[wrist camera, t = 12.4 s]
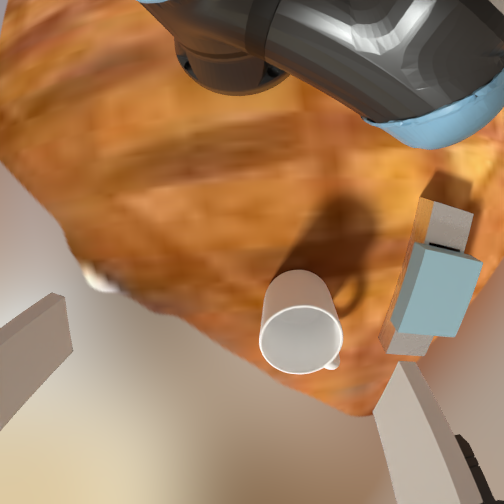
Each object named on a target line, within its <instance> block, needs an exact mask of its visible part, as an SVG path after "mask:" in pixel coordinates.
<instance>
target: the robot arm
mask: <svg viewBox="0 0 504 504" xmlns="http://www.w3.org/2000/svg"><path fill="white" fill-rule="evenodd" d="M137 1H138V2H139V3H140V4H142V5H143V6H144V7H145V8H146V9H147V10H148V11H149V12H150V13H151V14H152V15H153V16H154V17H155V18H156V19H157V20H158V21H159V22H160V23H161V24H162V25H163V26H164V27H165V28H166V29H167V30H168V31H169V32H170V33H171V34H172V35H173V36H174V41H175V52H176V55H177V58H178V61H179V63H180V65H181V66H182V68H183V69H184V71H185V72H186V73H187V74H188V75H189V76H190V77H191V78H192V79H193V80H194V81H195V82H197V83H198V84H199V85H201V86H202V87H204V88H206V89H208V90H210V91H213V92H216V93H219V94H224V95H230V96H245V95H252V94H256V93H260V92H263V91H266V90H268V89H270V88H273V87H274V86H276V85H278V84H279V83H281V82H282V81H284V80H285V79H286V78H287V77H288V76H289V75H290V74H291V75H293V76H295V77H297V78H299V79H300V80H302V81H304V82H306V83H308V84H310V85H311V86H313V87H315V88H317V89H319V90H320V91H322V92H324V93H325V94H327V95H329V96H331V97H332V98H334V99H336V100H337V101H339V102H340V103H342V104H344V105H345V106H347V107H348V108H350V109H352V110H353V111H355V112H356V113H358V114H359V115H360V116H361V118H362V119H363V120H364V121H365V122H367V123H368V124H370V125H372V126H376V127H380V128H381V129H383V130H384V131H386V132H387V133H389V134H390V135H392V136H393V137H395V138H396V139H398V140H399V141H400V142H402V143H404V144H406V145H408V146H410V147H413V148H421V149H427V150H432V149H439V148H444V147H447V146H451V145H453V144H456V143H458V142H460V141H462V140H464V139H466V138H468V137H470V136H471V135H473V134H475V133H476V132H478V131H479V130H480V129H482V128H483V127H484V126H486V125H487V124H488V123H489V122H490V121H491V120H492V119H493V118H494V117H495V116H496V115H497V114H498V113H499V112H500V111H501V109H502V108H503V107H504V0H137ZM72 352H73V348H72V343H71V337H70V331H69V324H68V319H67V311H66V303H65V297H64V296H61V295H57V294H55V293H50V294H49V295H47V296H46V297H44V298H43V299H41V300H40V301H38V302H37V303H35V304H34V305H32V306H31V307H30V308H28V309H27V310H25V311H24V312H22V313H21V314H19V315H18V316H17V317H15V318H14V319H12V320H11V321H10V322H9V323H7V324H6V325H4V326H3V327H2V328H0V431H1V430H2V429H3V427H4V426H5V425H6V424H7V423H8V422H9V420H10V419H11V418H12V417H13V416H14V415H15V414H16V412H17V411H18V410H19V409H20V408H21V407H22V406H23V404H24V403H25V402H26V401H27V400H28V399H29V398H30V397H31V396H32V394H34V392H35V391H36V390H37V389H38V388H39V387H40V386H41V385H42V384H43V383H44V382H45V380H46V379H47V378H48V377H49V376H50V375H51V374H52V373H53V372H54V371H55V370H56V369H57V368H58V367H59V365H61V364H62V362H64V361H65V359H66V358H67V357H68V356H69V355H70V354H71V353H72ZM373 414H374V418H375V421H376V424H377V428H378V431H379V435H380V439H381V442H382V446H383V449H384V453H385V457H386V461H387V465H388V469H389V472H390V477H391V481H392V484H393V489H394V493H395V497H396V502H397V504H504V501H501V500H497V501H495V499H494V497H493V496H492V493H491V491H490V488H489V486H488V484H487V481H486V479H485V477H484V475H483V472H482V470H481V468H480V466H478V461H477V459H476V458H474V453H473V451H472V449H471V447H470V445H469V443H468V442H467V441H466V440H465V439H464V438H463V437H462V436H461V435H460V434H459V435H454V434H453V432H452V430H451V428H450V426H449V424H448V422H447V420H446V418H445V416H444V414H443V412H442V410H441V408H440V406H439V405H438V402H437V401H436V399H435V397H434V395H433V393H432V391H431V390H430V388H429V386H428V384H427V382H426V380H425V379H424V377H423V375H422V373H421V371H420V370H419V368H418V366H417V364H416V363H415V362H406V361H399V362H398V364H397V366H396V368H395V370H394V372H393V374H392V376H391V378H390V380H389V382H388V384H387V386H386V388H385V390H384V392H383V394H382V396H381V398H380V400H379V401H378V403H377V405H376V407H375V409H374V410H373Z"/></svg>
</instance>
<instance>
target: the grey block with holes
mask: <svg viewBox="0 0 504 504" xmlns="http://www.w3.org/2000/svg"><path fill="white" fill-rule="evenodd" d="M473 215H474V214H473V213H470V212H467V211H464V210H461V209H458V208H455V207H451V206H448V205H445V204H442V203H439V202H435V201H432V200H429V199H425V198H422V197H420V198H419V202H418V207H417V212H416V216H415V220H414V225H413V229H412V233H411V237H410V241H409V245H408V248H407V252H406V256H405V259H404V263H403V266H402V269H401V273H400V276H399V279H398V283H397V286H396V289H395V292H394V295H393V298H392V301H391V304H390V307H389V310H388V312H387V315H386V318H385V321H384V324H383V326H382V329H381V332H380V334H379V337H378V338H379V340H380V342H381V345H382V347H383V349H384V351H385V353H386V354H399V355H414V356H425V354H426V352H427V350H428V348H429V345H430V343H431V341H432V339H433V336H432V335H420V334H409V333H399V332H397V330H396V329H395V327H394V326H393V324H392V322H391V321H390V319H391V316H392V313H393V310H394V307H395V305H396V302H397V299H398V296H399V293H400V290H401V287H402V284H403V280H404V277H405V274H406V271H407V267H408V264H409V260H410V257H411V253H412V250H413V246H414V242H418V243H422V244H427V245H429V242H431V243H435V244H439V245H444V249H448V250H452V251H456V252H460V253H464V250H465V247H466V243H467V239H468V236H469V232H470V228H471V223H472V219H473Z"/></svg>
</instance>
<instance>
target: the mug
mask: <svg viewBox="0 0 504 504" xmlns="http://www.w3.org/2000/svg"><path fill="white" fill-rule="evenodd" d="M342 343H343V331H342V327H341V324H340V321H339V318H338V315H337V312H336V309H335V306H334V304H333V301H332V298H331V295H330V292H329V290H328V288H327V286H326V284H325V283H324V281H323V280H322V279H321V278H320V277H319V276H317V275H316V274H314V273H312V272H309V271H306V270H291V271H287V272H284V273H282V274H280V275H279V276H277V277H276V278H275V279H274V280H273V281H272V282H271V284H270V285H269V287H268V289H267V291H266V294H265V299H264V306H263V314H262V321H261V329H260V337H259V345H260V349H261V352H262V354H263V356H264V358H265V359H266V360H267V361H268V363H270V364H271V365H272V366H273V367H275V368H276V369H278V370H280V371H283V372H286V373H291V374H307V373H312V372H315V371H318V370H320V369H322V368H326V369H329V370H334V369H336V368H337V367H338V366H339V364H340V357H339V351H340V349H341V346H342Z"/></svg>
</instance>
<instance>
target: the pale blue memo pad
mask: <svg viewBox="0 0 504 504" xmlns="http://www.w3.org/2000/svg"><path fill="white" fill-rule="evenodd" d="M482 265H483V262H481V261H480V260H478V259H476V258H475V257H473V256H471V255H468V254H464V253H460V252H456V251H452V250H448V249H444V248H439V247H435V246H431V245H427V244H422V243H418V242H414V246H413V250H412V253H411V257H410V260H409V264H408V267H407V271H406V274H405V277H404V280H403V284H402V287H401V290H400V293H399V296H398V299H397V302H396V305H395V307H394V310H393V313H392V316H391V319H390V321H391V322H392V324H393V326H394V327H395V329H396V330H397V332H399V333H409V334H420V335H432V336H446V337H455V336H456V334H457V331H458V329H459V327H460V325H461V322H462V319H463V317H464V315H465V313H466V310H467V307H468V305H469V302H470V300H471V297H472V294H473V292H474V289H475V286H476V283H477V280H478V277H479V274H480V271H481V268H482Z"/></svg>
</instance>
